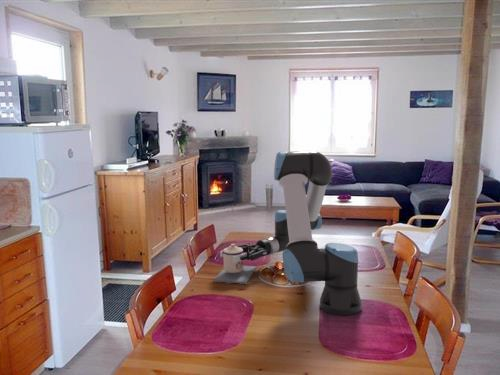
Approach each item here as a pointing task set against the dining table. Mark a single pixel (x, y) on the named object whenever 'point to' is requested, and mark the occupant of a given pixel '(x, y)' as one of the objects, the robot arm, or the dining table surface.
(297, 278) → the robot arm
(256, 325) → the dining table surface
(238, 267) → the teacup with lid
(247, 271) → the serving board
